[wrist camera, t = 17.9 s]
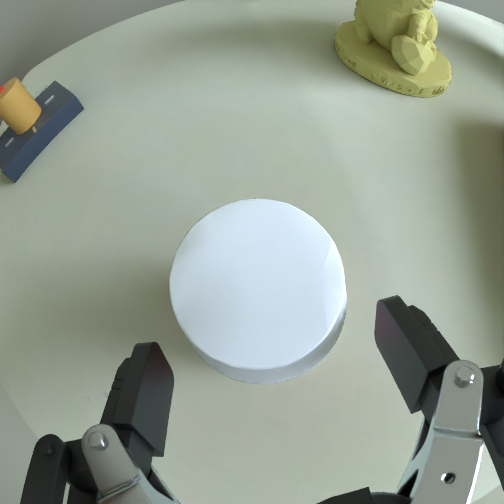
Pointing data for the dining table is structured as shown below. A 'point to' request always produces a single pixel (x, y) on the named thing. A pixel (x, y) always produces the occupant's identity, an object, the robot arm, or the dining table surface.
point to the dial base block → (38, 130)
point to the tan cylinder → (18, 106)
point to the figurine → (395, 46)
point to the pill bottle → (259, 290)
